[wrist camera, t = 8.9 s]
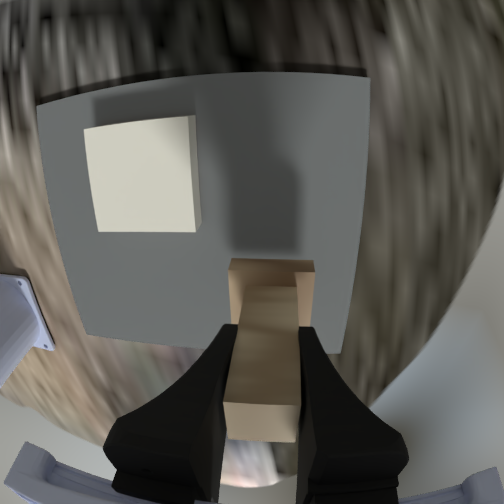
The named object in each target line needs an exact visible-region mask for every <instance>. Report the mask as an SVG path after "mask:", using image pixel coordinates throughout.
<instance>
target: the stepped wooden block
mask: <svg viewBox="0 0 504 504" xmlns="http://www.w3.org/2000/svg"><path fill="white" fill-rule="evenodd" d="M228 279H229V295H230V310H231V324H238V331H237V337H236V341H235V344H234V348H233V353H232V358H231V363H230V369H229V374H228V379H227V384H226V389H225V394H224V399H223V405H224V412H225V419H226V426H227V432H228V439H236V440H250V441H269V442H295V439H296V433H297V428H298V422H299V416H300V409H301V376H300V347H299V339H298V330H299V326H310V320H311V311H312V301H313V291H314V281H315V268H314V262H313V260H290V259H249V258H231V262H230V265H229V268H228Z"/></svg>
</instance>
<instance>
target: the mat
mask: <svg viewBox="0 0 504 504" xmlns="http://www.w3.org/2000/svg"><path fill="white" fill-rule="evenodd" d="M36 107H37V120H38V131H39V141H40V149H41V157H42V164H43V171H44V177H45V183H46V189H47V195H48V200H49V205H50V210H51V215H52V219H53V224H54V228H55V232H56V237H57V241H58V245H59V249H60V252H61V256H62V260H63V264H64V267H65V271H66V274H67V277H68V281H69V284H70V287H71V290H72V294H73V297H74V300H75V303H76V306H77V309H78V312H79V314H80V317H81V320H82V323H83V326H84V328H85V331H86V334H87V335H93V336H100V337H106V338H113V339H120V340H127V341H134V342H142V343H150V344H159V345H168V346H178V347H188V348H200V349H207V347H208V346H209V345H210V343H211V342H212V341H213V339H214V338H215V336H216V335H217V333H218V332H219V330H220V329H221V327H222V325H224V324H231V310H230V295H229V279H228V268H229V265H230V262H231V258H249V259H290V260H313V262H314V268H315V281H314V291H313V301H312V311H311V320H310V326H313V327H314V328H315V331H316V333H317V336H318V338H319V340H320V343H321V345H322V347H323V349H324V351H325V352H326V353H341V348H342V343H343V338H344V333H345V328H346V323H347V318H348V312H349V306H350V301H351V295H352V289H353V283H354V276H355V270H356V263H357V256H358V248H359V241H360V233H361V224H362V215H363V206H364V196H365V185H366V172H367V158H368V142H369V119H370V78H366V77H357V76H347V75H336V74H322V73H301V72H240V73H219V74H205V75H193V76H183V77H174V78H166V79H158V80H151V81H145V82H138V83H132V84H127V85H121V86H116V87H111V88H106V89H101V90H96V91H92V92H87V93H83V94H79V95H75V96H71V97H67V98H63V99H60V100H56V101H52V102H49V103H45V104H42V105H39V106H36ZM189 115H195V118H196V140H197V159H198V176H199V191H200V206H201V219H202V223H201V225H200V226H199V228H198V230H197V231H196V232H98V227H97V222H96V216H95V211H94V205H93V199H92V193H91V186H90V179H89V172H88V165H87V156H86V148H85V138H84V129H87V128H92V127H96V126H102V125H109V124H115V123H122V122H130V121H138V120H146V119H155V118H165V117H176V116H189Z"/></svg>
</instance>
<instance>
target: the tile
mask: <svg viewBox="0 0 504 504" xmlns="http://www.w3.org/2000/svg"><path fill="white" fill-rule="evenodd" d="M84 138H85V148H86V156H87V165H88V172H89V179H90V186H91V193H92V199H93V205H94V211H95V216H96V222H97V227H98V232H196V231H197V230H198V228H199V226H200V225H201V223H202V219H201V206H200V191H199V176H198V159H197V140H196V118H195V115H189V116H176V117H165V118H155V119H146V120H138V121H130V122H122V123H115V124H109V125H102V126H96V127H92V128H87V129H84Z"/></svg>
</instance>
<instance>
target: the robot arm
mask: <svg viewBox="0 0 504 504" xmlns="http://www.w3.org/2000/svg"><path fill="white" fill-rule="evenodd" d="M237 331H238V324H224V325H222V327H221V329H220V330H219V332H218V333H217V335H216V336H215V338H214V339H213V341H212V342H211V343H210V345H209V346H208V347H207V349H206V350H205V351H204V353H203V354H202V355H201V356H200V357H199V359H198V360H197V361H196V362H195V363H194V364H193V365H192V366H191V368H190V369H189V370H188V371H187V372H186V373H185V374H184V375H183V376H182V377H181V378H179V379H178V380H177V381H176V382H175V383H174V384H173V385H171V386H170V387H169V388H168V389H166V390H165V391H164V392H163V393H161V394H160V395H159V396H157V397H156V398H154V399H153V400H151V401H149V402H148V403H146V404H145V405H143V406H141V407H140V408H138V409H136V410H134V411H132V412H130V413H128V414H126V415H124V416H122V417H120V418H117V420H116V422H115V423H114V425H113V426H112V428H111V430H110V432H109V434H108V436H107V439H106V441H105V443H104V446H103V451H104V453H105V455H106V456H107V458H108V459H109V460H110V462H111V463H112V464H113V466H114V467H115V468H116V469H117V471H116V474H115V477H114V480H113V481H110V480H107V479H104V478H101V477H98V476H95V475H92V474H89V473H86V472H84V471H81V470H78V469H75V468H73V467H70V466H67V465H65V464H63V463H60V462H58V461H56V459H55V458H54V457H53V456H52V455H51V454H50V453H49V452H48V451H46V450H44V449H42V448H40V447H38V446H35V445H33V444H31V443H29V442H25V443H24V445H23V447H22V448H21V450H20V452H19V454H18V456H17V458H16V460H15V462H14V464H13V465H12V467H11V469H10V471H9V473H8V475H7V477H6V479H5V481H4V484H5V485H6V486H7V487H8V488H10V489H11V490H12V491H13V492H15V493H16V494H18V496H20V497H21V498H22V499H24V500H25V501H26V502H28V503H29V504H220V503H218V498H219V488H220V479H221V470H222V461H223V453H224V446H225V438H226V431H227V426H226V419H225V412H224V405H223V399H224V394H225V389H226V384H227V379H228V374H229V369H230V363H231V358H232V353H233V348H234V344H235V341H236V337H237ZM298 339H299V347H300V376H301V409H300V416H299V422H298V428H299V444H298V473H297V492H296V504H504V490H503V486H502V483H501V480H500V477H499V474H498V471H497V468H496V467H492V468H489V469H486V470H484V471H481V472H477V473H475V474H473V475H471V476H469V477H468V478H466V479H465V481H463V483H462V484H460V485H456V486H453V487H449V488H445V489H441V490H437V491H434V492H429V493H425V494H420V495H416V496H411V497H406V498H401V499H398V495H397V489H396V487H398V485H399V482H398V475H399V474H400V472H401V471H402V470H403V469H404V467H405V466H406V465H407V463H408V461H409V455H408V450H407V447H406V445H405V442H404V440H403V437H402V435H401V434H400V433H399V432H398V431H396V430H395V429H393V428H392V427H390V426H389V425H388V424H386V423H385V422H383V421H382V420H381V419H380V418H379V417H377V416H376V415H375V414H374V413H373V412H372V411H371V410H370V409H369V408H368V407H366V406H365V405H364V404H363V403H362V402H361V401H360V400H359V399H358V397H357V396H356V395H355V394H354V393H353V392H352V391H351V389H350V388H349V387H348V386H347V385H346V383H345V382H344V381H343V379H342V378H341V376H340V375H339V374H338V372H337V371H336V369H335V368H334V366H333V364H332V363H331V361H330V359H329V358H328V356H327V354H326V352H325V351H324V349H323V347H322V345H321V343H320V340H319V338H318V336H317V333H316V331H315V328H314V327H313V326H299V330H298ZM32 346H35V347H38V348H42V349H46V350H50V351H53V350H54V349H55V345H54V343H53V341H52V338H51V336H50V334H49V331H48V329H47V327H46V324H45V322H44V320H43V317H42V315H41V312H40V310H39V307H38V304H37V302H36V299H35V296H34V294H33V291H32V288H31V285H30V283H29V280H28V279H27V278H26V277H24V276H15V275H6V274H0V388H1V387H2V385H3V384H4V383H5V381H6V380H7V378H8V377H9V376H10V374H11V373H12V372H13V370H14V369H15V368H16V366H17V365H18V364H19V363H20V361H21V360H22V359H23V357H24V356H25V355H26V353H27V352H28V351H29V350H30V348H31V347H32Z"/></svg>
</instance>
